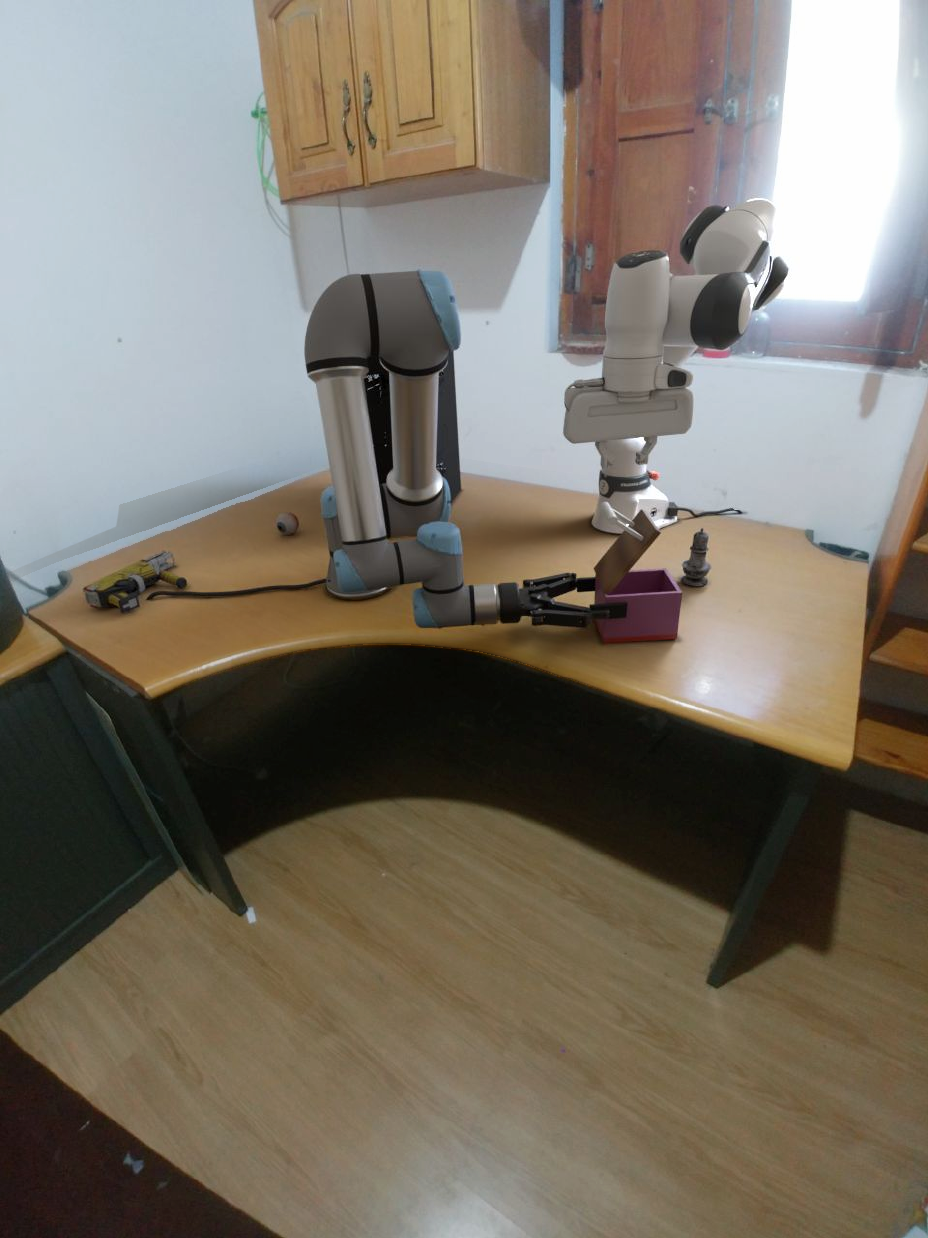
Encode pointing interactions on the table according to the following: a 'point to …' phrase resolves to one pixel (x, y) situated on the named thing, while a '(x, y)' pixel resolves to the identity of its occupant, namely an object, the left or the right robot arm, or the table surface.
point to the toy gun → (131, 583)
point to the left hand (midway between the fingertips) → (618, 595)
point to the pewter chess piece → (697, 561)
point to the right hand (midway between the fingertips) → (623, 465)
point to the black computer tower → (445, 423)
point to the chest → (642, 607)
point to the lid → (624, 547)
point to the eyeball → (287, 523)
